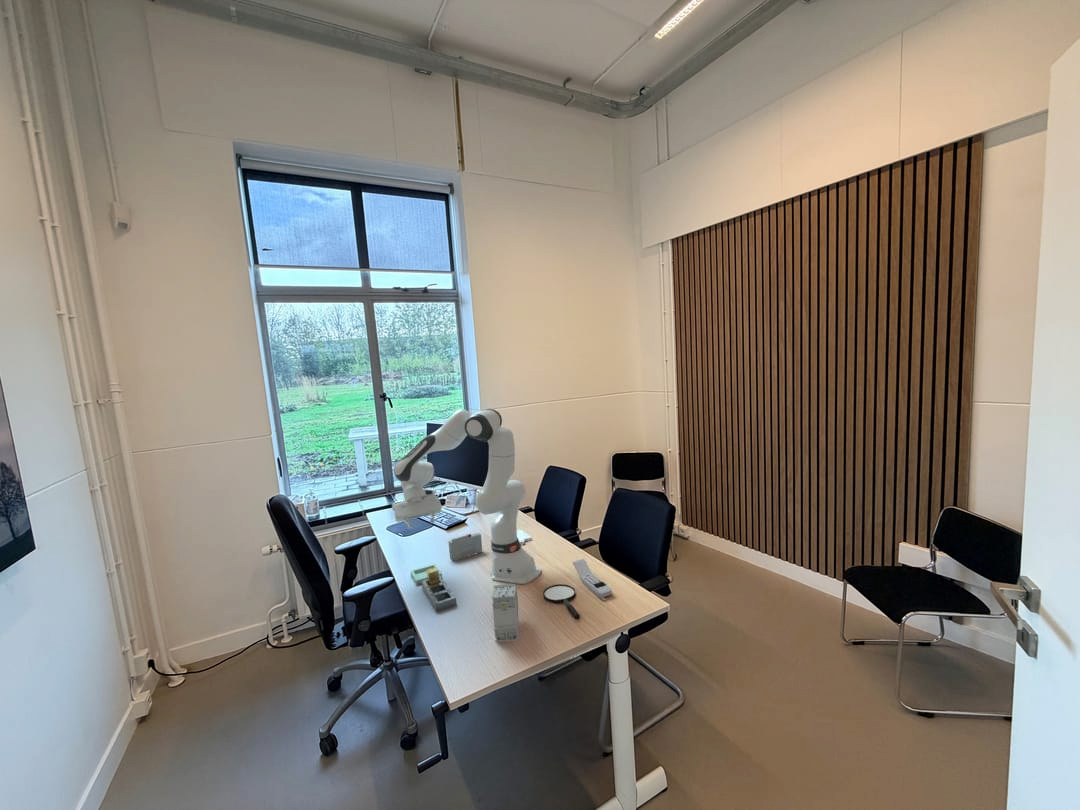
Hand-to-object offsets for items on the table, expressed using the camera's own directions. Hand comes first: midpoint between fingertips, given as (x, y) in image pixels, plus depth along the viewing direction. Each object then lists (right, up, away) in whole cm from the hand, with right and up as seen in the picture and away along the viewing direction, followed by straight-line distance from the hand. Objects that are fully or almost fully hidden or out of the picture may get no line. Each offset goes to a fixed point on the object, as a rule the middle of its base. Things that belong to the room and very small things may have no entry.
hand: (421, 525), depth 187 cm
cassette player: (+16, -21, +21) cm, 34 cm away
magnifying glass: (+61, -22, -25) cm, 70 cm away
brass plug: (+7, -24, -9) cm, 27 cm away
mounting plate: (+38, -18, +37) cm, 57 cm away
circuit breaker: (+40, -25, -39) cm, 61 cm away
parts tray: (+1, -23, +3) cm, 23 cm away
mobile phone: (+72, -21, -15) cm, 77 cm away
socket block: (+11, -24, -15) cm, 30 cm away
